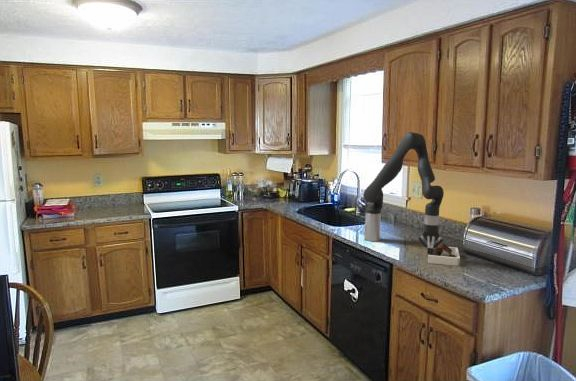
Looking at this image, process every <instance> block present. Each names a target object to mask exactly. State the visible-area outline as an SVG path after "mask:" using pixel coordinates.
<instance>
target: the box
mask: <svg viewBox="0 0 576 381" xmlns="http://www.w3.org/2000/svg"><path fill="white" fill-rule="evenodd" d="M430 247H431V244H430ZM448 247H449V248H450V249H451V250H452V252H451V257H449V256H444V255H450V253H448V252H446V251H444V250H443V253H442V254H441V255H440V256H436V255H435V256H434V255H429V254H428V255H427V264H434V265H435V264H436V265H444V266H456V267H460V264H461V257H460V253H459V252H460V251H459V248H458V247H457V246H456V247H455V246H448ZM433 249H434V248H433ZM452 255H453V256H454V257H453V256H452Z"/></svg>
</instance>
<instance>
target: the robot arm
mask: <svg viewBox="0 0 576 381" xmlns="http://www.w3.org/2000/svg"><path fill="white" fill-rule="evenodd" d="M425 139H426V138H425V137H424V135H423V134H421V133H418V132H414V131H413V132H412V131H409V132H407V133H405V134H404V135H403V137H402V138H401V139H400V142H399V144H398V145H397V147H396V149H395V150H394V152H393V153H392V155H391V156H390V158H389V159H388V160H387V161H386V163H385V164H384V165H383V167H382V169H380V171H379V173H378V174H377V175H376V176H375V178H374V180H372V182H371V183H370V184H369V185H368V186H367V187H366V188H365V189H364V191H363V194H362V196H363V199H364V201H365V202H367V203H369V204H368V206H367V207H366V208H365V224H364V238H363V239H364V241H367V242H379V241H381V221H382V220H381V219H382V217H381V216H382V209H383V205H384V192H383V189H384V187H385V186H386V185H388V184H390V182H392V181H393V180H394V179H396V178H397V176H398V174H400V173H401V171H402V169H403V165H404V159H405V156H406V155H407V153H408V152H409V151H410V150H413V151H415V153H416V155H417V159H418V161H417V171H418V175H419V178H420V181H421V192H422V193H421V194H422V196H423V197H424V198H425V199H426V200H431V201H430V202H428V203H426V204H425V208H424V219H423V233H422V235H420V236H418V240H419V241H420V243H421V244H422V245H423V247H425V248H427V249H426V250H427V251H426V253H427V254H428V255H431V254H433V248H436V247H437V246H438V245H440V243H443V241H444V238H443V237H441V236H440V234H439V231H440V206H441V204H442V201H443V198H444V194H445V192H444V188H443V187H442V185H441V186H440V185H432V184H431V183H434V181H436V177H435V173H434V170H433V168H432V166H431V163H430V160H429V154H428V149H427V148H428V147H427V143H426V140H425ZM437 240H438V241H437ZM436 241H437V242H436ZM430 245H431V247H430Z"/></svg>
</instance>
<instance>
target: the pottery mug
mask: <svg viewBox="0 0 576 381" xmlns="http://www.w3.org/2000/svg"><path fill="white" fill-rule="evenodd" d="M449 247H450V246H447V245H446V244H444V243H443V242H441V243H440V244H439V245H438V246H437V247H436V248H434V249H433V254H431V255H434V256H442V255H443V254H442V253H443V250H444V251H446V252H448V253H450V254H448V255H449V256H448V257H452V255H451V252H452V250H451V249H450V248H449Z"/></svg>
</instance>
